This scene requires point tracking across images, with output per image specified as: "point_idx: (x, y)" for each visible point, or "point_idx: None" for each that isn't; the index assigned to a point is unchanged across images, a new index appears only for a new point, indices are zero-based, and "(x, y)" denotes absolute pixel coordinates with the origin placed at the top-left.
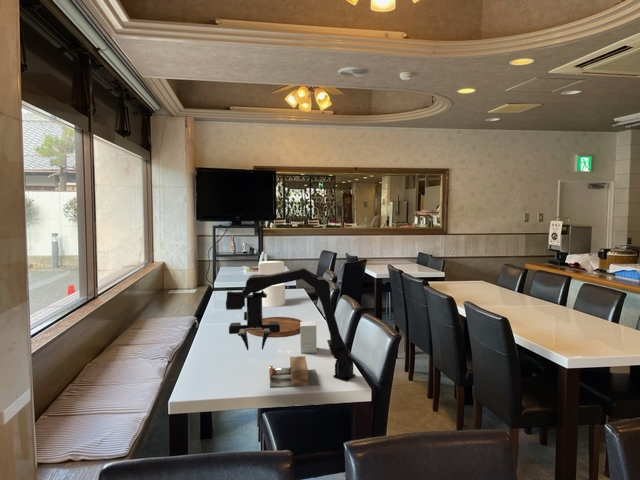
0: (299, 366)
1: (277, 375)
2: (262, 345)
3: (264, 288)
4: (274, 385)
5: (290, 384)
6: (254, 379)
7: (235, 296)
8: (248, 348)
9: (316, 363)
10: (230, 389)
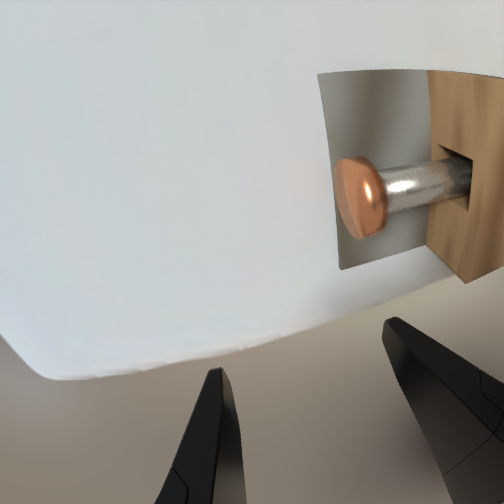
0: (501, 231)
1: (371, 137)
2: (409, 392)
3: None
4: (360, 256)
5: (422, 236)
6: (239, 186)
7: None
8: (222, 373)
9: (498, 5)
10: (157, 309)
